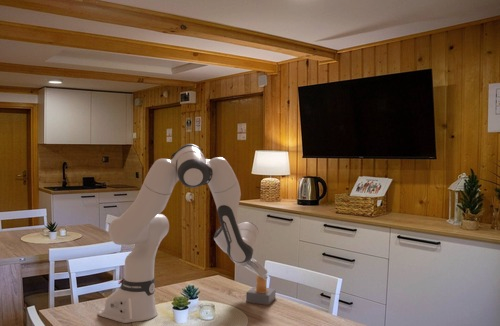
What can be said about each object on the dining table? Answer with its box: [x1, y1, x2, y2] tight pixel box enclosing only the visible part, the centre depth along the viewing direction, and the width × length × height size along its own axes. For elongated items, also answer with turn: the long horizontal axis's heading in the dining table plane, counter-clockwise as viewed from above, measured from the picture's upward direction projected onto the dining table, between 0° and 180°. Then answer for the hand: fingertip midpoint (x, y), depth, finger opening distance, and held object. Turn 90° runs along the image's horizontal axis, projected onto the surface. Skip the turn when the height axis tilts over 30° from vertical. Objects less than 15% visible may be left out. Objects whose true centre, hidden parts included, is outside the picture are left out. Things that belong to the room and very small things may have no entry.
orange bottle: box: [255, 274, 268, 291], centre depth 193 cm, size 4×4×9 cm
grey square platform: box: [245, 285, 277, 306], centre depth 193 cm, size 10×10×4 cm
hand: (262, 276), depth 193 cm, fingers open, 5 cm apart
